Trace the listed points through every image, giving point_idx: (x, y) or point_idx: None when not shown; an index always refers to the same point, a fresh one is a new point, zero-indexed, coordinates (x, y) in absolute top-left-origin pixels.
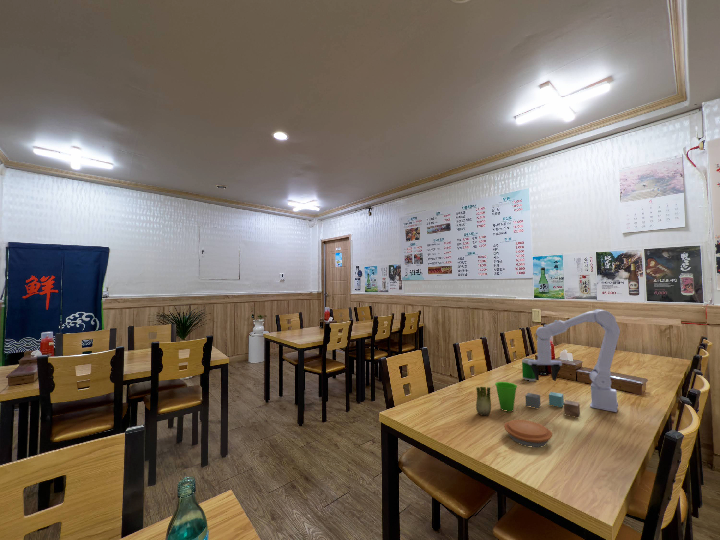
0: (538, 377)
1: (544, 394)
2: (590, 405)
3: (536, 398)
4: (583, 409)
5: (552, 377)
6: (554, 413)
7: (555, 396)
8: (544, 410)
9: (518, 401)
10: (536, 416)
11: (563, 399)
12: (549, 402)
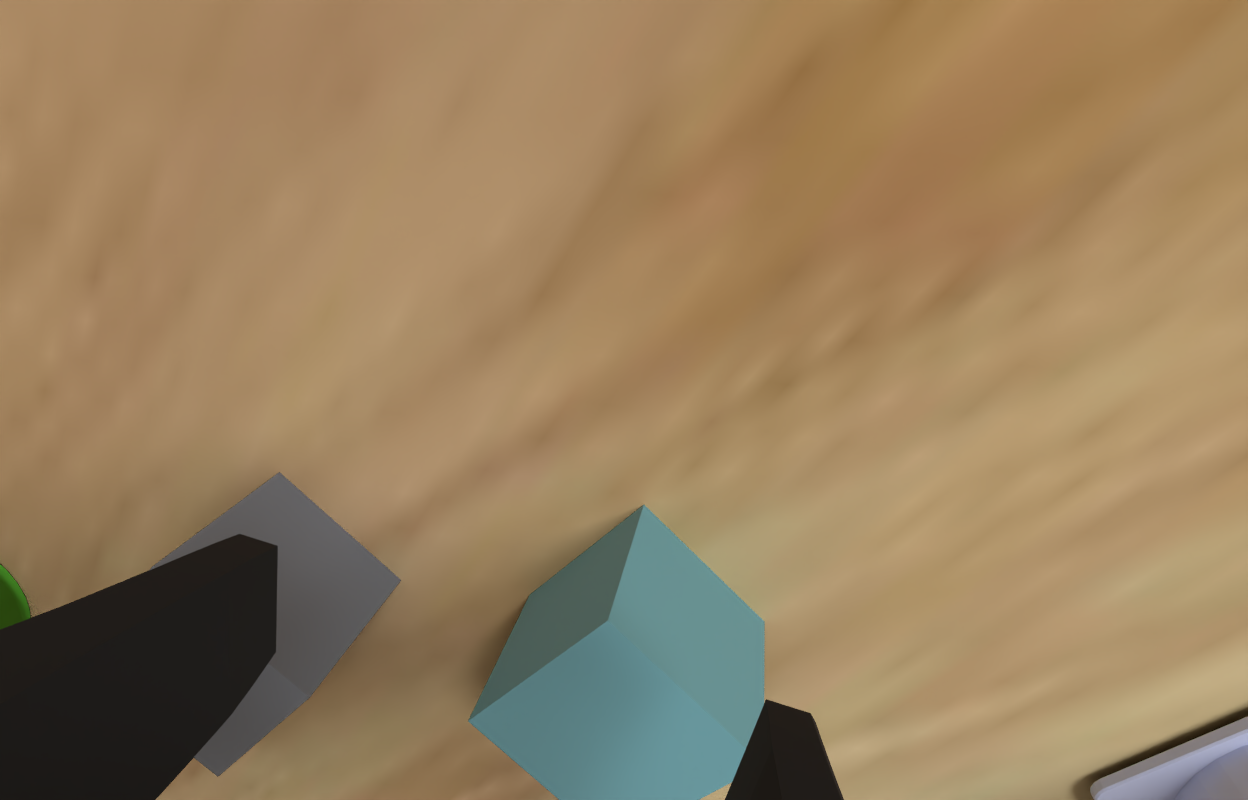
0: (192, 746)
1: (821, 88)
2: (1132, 782)
3: (213, 757)
4: (907, 795)
5: (765, 771)
6: (442, 782)
7: (548, 780)
8: (375, 700)
9: (162, 382)
10: (222, 784)
11: (756, 691)
12: (518, 627)
